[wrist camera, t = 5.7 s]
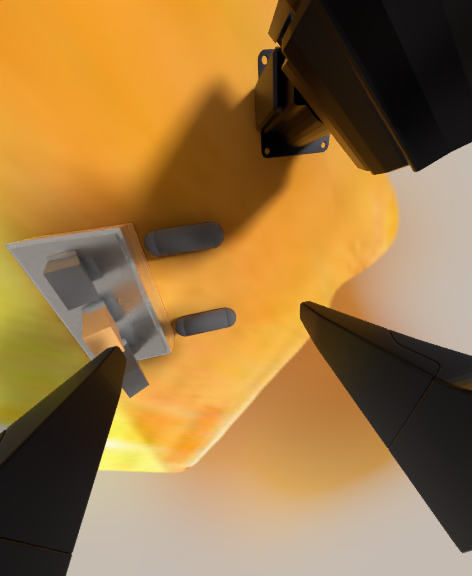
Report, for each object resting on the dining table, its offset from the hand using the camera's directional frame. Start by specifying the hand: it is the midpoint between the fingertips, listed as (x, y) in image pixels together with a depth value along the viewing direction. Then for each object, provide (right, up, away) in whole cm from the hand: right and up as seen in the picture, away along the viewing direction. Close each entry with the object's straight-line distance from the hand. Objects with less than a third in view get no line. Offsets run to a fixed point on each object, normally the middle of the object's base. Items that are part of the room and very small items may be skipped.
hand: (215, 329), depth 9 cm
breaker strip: (-12, +1, +10) cm, 16 cm away
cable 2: (-3, -2, +14) cm, 14 cm away
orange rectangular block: (-11, -1, +7) cm, 13 cm away
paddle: (-10, -5, +9) cm, 14 cm away
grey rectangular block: (-11, +3, +5) cm, 13 cm away
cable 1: (-4, +7, +9) cm, 12 cm away
